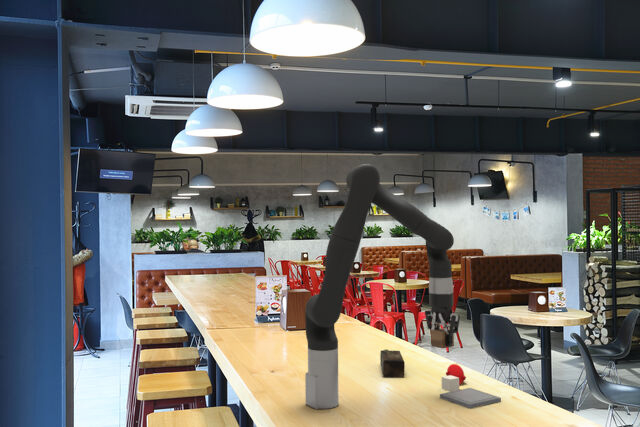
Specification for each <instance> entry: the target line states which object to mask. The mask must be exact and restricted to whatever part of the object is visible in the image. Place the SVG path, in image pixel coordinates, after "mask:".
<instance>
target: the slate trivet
mask: <svg viewBox="0 0 640 427" xmlns="http://www.w3.org/2000/svg"><path fill="white" fill-rule="evenodd" d="M439 399H442V400H444V401H445V400H446V401H447V400H448V401H447V402H449V403H453V402H454V404H455V405H458V404H459V405H458V406H461V405H462V407H464V408H467V409H469V408H470V409H474V407H475V408H478V407H483V405H484V406H487V405H492V404H496V403H500V402H502V397H500V396H497V395H493V394H490V393H488V392H484V391H482V390H478V389H475V388H473V387H469V388H468V387H467V388H463V389H459V390H456V391H451V392H450V391H447V392H443V393H440V394H439Z"/></svg>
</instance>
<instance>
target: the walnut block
mask: <svg viewBox="0 0 640 427" xmlns="http://www.w3.org/2000/svg"><path fill="white" fill-rule="evenodd" d="M454 334H455V333H454ZM454 334H453V344H452V346H449V347H447V346H446V345H445V335H446V333H445V330H444V328H443V327H442V328H440V329H436V330H431V329H430V337H431V338H430V340H431V341H430V343H431V344H430V346H431V347H435V348H439V349H447V348H452V347H453V348H454V347H455V339H454V338H455V335H454Z"/></svg>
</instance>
